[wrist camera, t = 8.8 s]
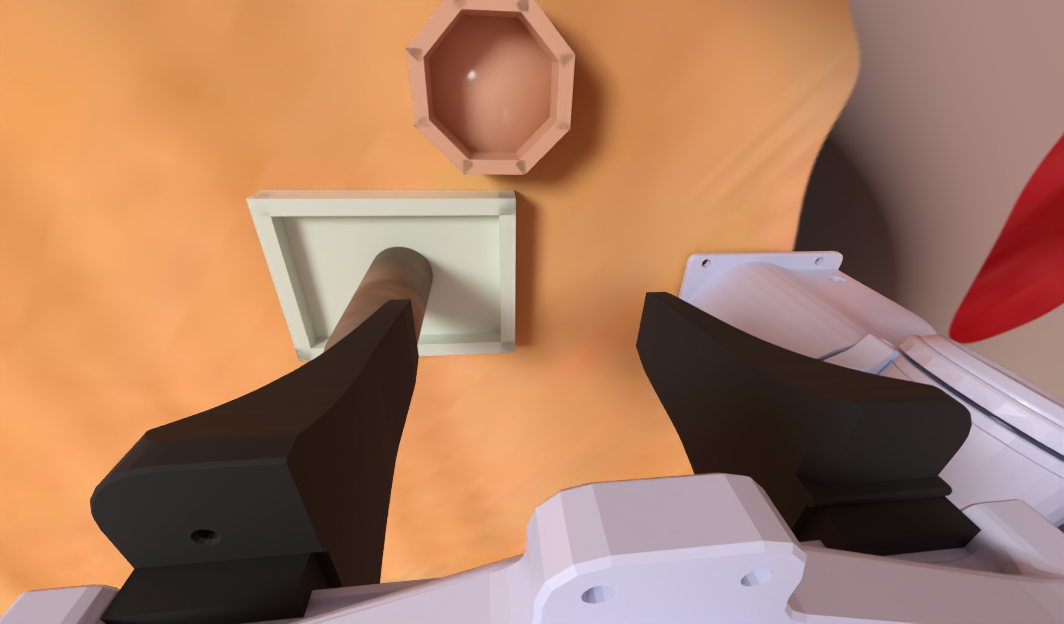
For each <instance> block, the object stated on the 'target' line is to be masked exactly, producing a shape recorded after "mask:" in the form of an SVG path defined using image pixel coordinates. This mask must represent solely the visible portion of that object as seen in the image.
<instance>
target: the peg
mask: <svg viewBox="0 0 1064 624" xmlns="http://www.w3.org/2000/svg"><path fill="white" fill-rule="evenodd" d="M432 281H433V272H432V269H431V266H430V264H429V262H428V261H427V260H426V259H425V258H424V256H422V255H421V254H420V253H418V252H417V251H415V250H413V249H410V248H406V247H391V248H388V249H385V250H383V251H381V252H380V253H379V254H378V255H377V256H376V257H375V259H374V260H373V262H372V264H371V265H370V267H369V269H368V271H367V272H366V274H365V276H364V278H363V279H362V281H361V283H360V285H359V287H358V288H357V290H356V292H355V294H354V295H353V297H352V299H351V301H350V302H349V304H348V306H347V308H346V309H345V311H344V313H343V315H342V317H341V318H340V320H339V322H338V324H337V325H336V327H335V329H334V331H333V332H332V334H331V336H330V338H329V339H328V341H327V343H326V345H325V348H324V352H325V351H326V350H328V349H329V348H330V347H332V346H333V345H334V344H336V343H337V342H338V341H340V340H341V339H342V338H344V337H345V336H346V335H348V334H349V333H350V332H352V331H353V330H354V329H355V328H357V327H358V326H359V325H360V324H361V323H362V322H364V321H365V320H366V319H367V318H368V317H370V316H371V315H372V314H373V313H374V312H375V311H376V310H378V309H379V308H380V307H381V306H382V305H383V304H385V303H386V302H387V301H388V300H395V299H411V304H412V311H413V318H414V325H415V332H416V340H417V345H418V341H419V336H420V332H421V328H422V324H423V319H424V315H425V311H426V307H427V302H428V298H429V294H430V290H431V285H432Z"/></svg>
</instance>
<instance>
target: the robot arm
mask: <svg viewBox="0 0 1064 624" xmlns="http://www.w3.org/2000/svg"><path fill="white" fill-rule="evenodd" d="M818 258H819V259H818ZM707 259H708V261H707V263H706V264H704V265H702V263H703V261H704V260H707ZM817 259H818V261H817V262H815V261H816V260H817ZM842 259H843V256H842V255H841V254H840V253H838V252H836V251H813V252H812V251H811V252H810V251H809V252H744V253H696V254H693V255H691V256H690V257H689V258H688V260H687V264H686V268H685V272H684V276H683V281H682V285H681V289H680V293H679V297H676V296H674V295H672V294H669V293H667V292H646V297H645V303H644V308H643V313H642V318H641V323H640V329H639V334H638V339H637V344H636V347H637V350H638V353H639V356H640V359H641V362H642V365H643V367H644V370H645V373H646V375H647V377H648V378H649V380H650V382H651V384H652V386H653V388H654V390H655V392H656V394H657V395H658V397H659V399H660V401H661V403H662V405H663V406H664V408H665V410H666V412H667V414H668V416H669V417H670V419H671V421H672V423H673V425H674V427H675V429H676V431H677V433H678V435H679V437H680V439H681V441H682V444H683V446H684V449H685V451H686V454H687V456H688V459H689V461H690V464H691V466H692V469H693V471H694V474H695V475H682V476H669V477H656V478H644V479H631V480H618V481H605V482H592V483H586V484H582V485H578V486H574V487H570V488H566V489H562V490H560V491H559V492H557V493H556V494H554V495H553V496H551V497H550V498H548V499H547V500H546V501H544V502H543V503H541V504H540V505H539V506H538V507H537V508H536V509H535V511H534V513H533V515H532V517H531V520H530V522H529V524H528V526H527V537H526V549H525V553H523V554H520V555H517V556H513V557H510V558H506V559H503V560H500V561H496V562H493V563H490V564H486V565H483V566H480V567H476V568H473V569H469V570H466V571H463V572H459V573H456V574H453V575H449V576H446V577H442V578H432V579H422V580H412V581H402V582H392V583H382V584H380V577H381V567H382V559H383V550H384V542H385V533H386V525H387V517H388V510H389V503H390V495H391V488H392V482H393V475H394V468H395V462H396V457H397V452H398V447H399V443H400V440H401V436H402V432H403V428H404V425H405V421H406V417H407V414H408V410H409V406H410V402H411V399H412V395H413V391H414V387H415V383H416V375H417V367H418V357H419V354H418V347H417V340H416V332H415V325H414V318H413V311H412V304H411V299H395V300H388V301H387V302H386V303H385V304H383V305H382V306H381V307H380V308H379V309H378V310H376V311H375V312H374V313H373V314H372V315H371V316H370V317H368V318H367V319H366V320H365V321H364V322H362V323H361V324H360V325H359V326H358V327H357V328H355V329H354V330H353V331H352V332H350V333H349V334H348V335H346V336H345V337H344V338H342V339H341V340H340V341H338V342H337V343H336V344H334V345H333V346H332V347H330V348H329V349H328V350H326V351H325V352H323V353H322V354H320V355H319V356H317V357H316V358H314V359H313V360H311V361H309V362H308V363H306V364H304V365H303V366H301V367H300V368H298V369H296V370H294V371H293V372H291V373H289V374H287V375H285V376H283V377H281V378H279V379H277V380H275V381H273V382H271V383H269V384H267V385H265V386H263V387H261V388H259V389H257V390H255V391H253V392H251V393H248V394H246V395H244V396H241V397H239V398H237V399H234V400H232V401H230V402H227V403H225V404H222V405H220V406H217V407H215V408H212V409H209V410H207V411H204V412H201V413H198V414H195V415H192V416H190V417H187V418H184V419H181V420H178V421H175V422H172V423H169V424H166V425H163V426H160V427H157V428H154V429H151V430H148V431H147V432H146V433H145V434H144V435H143V436H142V437H141V438H140V440H139V441H138V442H137V443H136V444H135V445H134V446H133V447H132V448H131V449H130V451H129V452H128V453H127V454H126V455H125V456H124V457H123V458H122V459H121V460H120V461H119V463H118V464H117V465H116V466H115V467H114V468H113V469H112V470H111V471H110V472H109V474H108V475H107V476H106V477H105V478H104V479H103V480H102V481H101V482H100V483H99V485H98V486H97V487H96V488H95V490H94V492H93V495H92V497H91V499H90V505H91V513H92V516H93V518H94V520H95V521H96V523H97V525H98V526H99V528H100V530H101V531H102V532H103V533H104V534H105V535H106V536H107V538H108V539H109V540H110V541H111V542H112V543H113V544H114V546H115V547H116V548H117V549H118V550H119V551H120V553H121V554H122V555H123V556H124V557H125V558H126V559H127V561H128V562H129V563H130V564H131V565H132V566H133V567H134V570H133V572H132V573H131V575H130V576H129V578H128V579H127V581H126V582H125V583H124V585H123V586H122V588H121V589H120V590H119V589H118V588H116V587H112V586H108V585H82V586H72V587H61V588H50V589H39V590H30V591H27V592H25V593H22V594H21V595H20V596H19V597H18V598H17V600H16V601H15V602H14V603H13V604H12V605H11V606H10V608H9V609H8V610H7V611H6V612H5V613H4V614H3V616H2V617H1V618H0V624H1064V400H1063V399H1061V398H1059V397H1057V396H1055V395H1054V394H1052V393H1050V392H1048V391H1047V390H1045V389H1043V388H1041V387H1039V386H1038V385H1036V384H1034V383H1032V382H1031V381H1029V380H1027V379H1025V378H1023V377H1022V376H1020V375H1018V374H1015V373H1014V372H1012V371H1010V370H1009V369H1007V368H1005V367H1003V366H1001V365H1000V364H997V363H996V362H994V361H992V360H990V359H989V358H987V357H985V356H983V355H981V354H979V353H977V352H975V351H973V350H971V349H970V348H968V347H966V346H964V345H962V344H960V343H958V342H956V341H954V340H952V339H950V338H947V337H945V336H943V335H938V334H937V333H936V332H935V330H934V329H933V328H932V327H931V326H930V325H929V324H928V323H927V322H926V321H924V320H923V319H922V318H921V317H919V316H917V315H915V314H914V313H912V312H910V311H908V310H907V309H905V308H903V307H902V306H900V305H898V304H896V303H895V302H893V301H891V300H889V299H888V298H886V297H884V296H882V295H881V294H879V293H877V292H875V291H874V290H872V289H870V288H868V287H867V286H865V285H863V284H861V283H860V282H858V281H856V280H854V279H853V278H851V277H849V276H847V275H845V274H844V273H842V272H840V271H839V270H838V269H839V267H840V265H841V262H842Z"/></svg>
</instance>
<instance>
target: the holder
mask: <svg viewBox="0 0 1064 624" xmlns="http://www.w3.org/2000/svg"><path fill="white" fill-rule="evenodd" d="M406 53H407V62H408V71H409V80H410V89H411V99H412V108H413V117H414V126H415V127H416V128H417V129H418V130H419V131H420V132H421V133H422V134H423V135H424V136H425V137H426V138H427V139H428V140H429V141H430V142H431V143H432V144H433V145H434V146H435V147H436V148H437V149H438V150H439V151H440V152H441V153H442V154H444V155H445V156H446V157H447V158H448V159H449V160H450V161H451V162H452V163H453V164H454V165H455V166H456V167H457V168H458V169H459V170H460V171H461V172H462V173H463V174H464V175H465V174H504V175H526V173H527V172H528V171H529V170H530V169H531V168H532V167H533V166H534V165H535V164H536V163H537V162H538V161H539V160H540V159H541V158H542V157H543V156H544V155H545V154H546V153H547V152H548V151H549V150H550V149H551V148H552V147H553V146H554V145H555V144H556V143H557V142H558V141H559V140H560V139H561V138H562V137H563V136H564V135H565V134H566V133H567V132H568V131H569V130H570V129H571V128H570V123H571V108H572V94H573V79H574V65H575V54H574V52H573V51H572V50H571V48H570V47H569V46H568V44H567V43H566V42H565V40H564V39H563V38H562V36H561V35H560V34H559V32H558V31H557V30H556V28H555V27H554V26H553V24H552V23H551V21H550V20H549V19H548V17H547V16H546V15H545V13H544V12H543V11H542V9H541V8H540V7H539V5H538V4H537V3H536V1H535V0H444V1H443V2H442V3H441V4H440V6H439V7H438V8H437V10H436V11H435V12H434V13H433V15H432V16H431V17H430V19H429V20H428V21H427V22H426V24H425V25H424V26H423V28H422V29H421V30H420V31H419V33H418V34H417V35H416V37H415V38H414V39H413V40H412V42H411V43H410V44H409V46H408V47H407V48H406Z"/></svg>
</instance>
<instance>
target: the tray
mask: <svg viewBox="0 0 1064 624" xmlns="http://www.w3.org/2000/svg"><path fill="white" fill-rule="evenodd" d="M246 200H247V203H248V206H249V209H250V212H251V215H252V218H253V221H254V224H255V227H256V230H257V234H258V237H259V240H260V243H261V246H262V249H263V252H264V255H265V258H266V261H267V264H268V267H269V270H270V273H271V276H272V279H273V282H274V285H275V288H276V291H277V294H278V297H279V301H280V304H281V307H282V310H283V313H284V316H285V319H286V322H287V325H288V328H289V331H290V334H291V337H292V340H293V343H294V346H295V349H296V352H297V355H298V358H299V361H309V360H313V359H314V358H316V357H317V356H319V355H320V354H322V353H323V352H324V348H325V345H326V343H327V341H328V339H329V338H330V336H331V334H332V332H333V331H334V329H335V327H336V325H337V324H338V322H339V320H340V318H341V317H342V315H343V313H344V311H345V309H346V308H347V306H348V304H349V302H350V301H351V299H352V297H353V295H354V294H355V292H356V290H357V288H358V287H359V285H360V283H361V281H362V279H363V278H364V276H365V274H366V272H367V271H368V269H369V267H370V265H371V264H372V262H373V260H374V259H375V257H376V256H377V255H378V254H379V253H380V252H381V251H383V250H385V249H388V248H391V247H406V248H410V249H413V250H415V251H417V252H418V253H420V254H421V255H422V256H424V258H425V259H426V260H427V261H428V262H429V264H430V266H431V269H432V272H433V281H432V285H431V290H430V294H429V298H428V302H427V307H426V311H425V315H424V319H423V324H422V328H421V332H420V336H419V341H418V345H417V347H418V354H419V356H436V355H461V354H487V353H512V352H515V263H516V197H515V193H514V190H261V191H259V192H258V193H256V194H254V195H252V196H250V197H249V198H247V199H246Z"/></svg>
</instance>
